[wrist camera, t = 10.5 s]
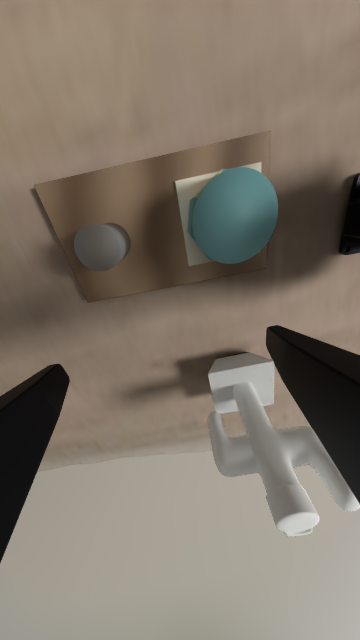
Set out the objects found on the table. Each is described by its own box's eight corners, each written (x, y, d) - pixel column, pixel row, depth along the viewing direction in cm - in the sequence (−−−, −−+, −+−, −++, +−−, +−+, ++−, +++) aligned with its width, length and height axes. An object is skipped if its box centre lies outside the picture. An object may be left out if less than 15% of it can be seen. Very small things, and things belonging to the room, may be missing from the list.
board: (265, 134, 14) (307, 99, 10) (262, 266, 19) (289, 281, 15) (40, 186, 15) (-12, 174, 11) (90, 299, 20) (68, 323, 16)
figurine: (194, 354, 24) (221, 519, 11) (269, 339, 24) (393, 496, 10) (203, 392, 28) (232, 553, 15) (269, 380, 27) (362, 537, 14)
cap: (266, 223, 16) (292, 225, 13) (213, 266, 18) (224, 279, 14) (230, 159, 14) (250, 141, 11) (174, 215, 16) (175, 215, 12)
